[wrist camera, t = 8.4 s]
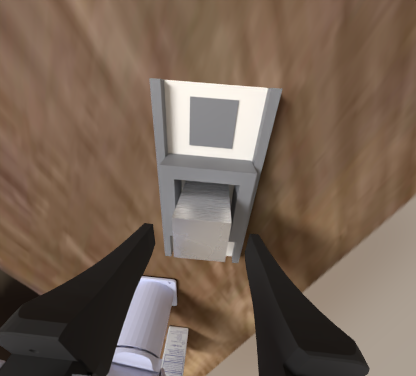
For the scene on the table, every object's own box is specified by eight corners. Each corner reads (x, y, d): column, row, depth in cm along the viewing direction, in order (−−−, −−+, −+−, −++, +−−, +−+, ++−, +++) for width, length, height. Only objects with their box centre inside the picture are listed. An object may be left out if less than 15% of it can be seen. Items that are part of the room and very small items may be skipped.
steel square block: (188, 204, 19) (174, 257, 13) (188, 173, 17) (171, 217, 11) (223, 208, 19) (224, 262, 13) (227, 176, 17) (231, 223, 11)
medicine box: (169, 324, 37) (156, 383, 30) (189, 327, 37) (181, 386, 30) (169, 338, 41) (157, 393, 34) (187, 341, 41) (179, 396, 34)
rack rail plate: (168, 244, 24) (159, 269, 21) (156, 79, 14) (136, 75, 11) (237, 251, 24) (240, 277, 21) (276, 89, 14) (293, 88, 10)
